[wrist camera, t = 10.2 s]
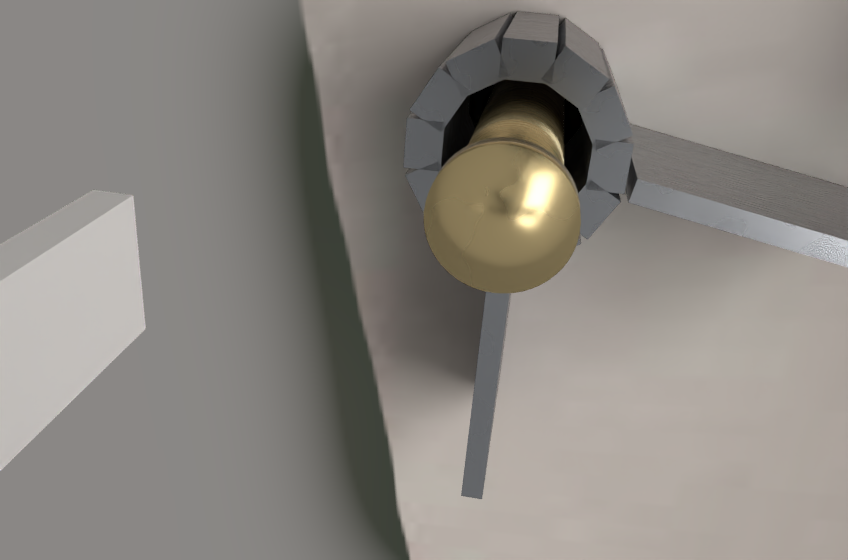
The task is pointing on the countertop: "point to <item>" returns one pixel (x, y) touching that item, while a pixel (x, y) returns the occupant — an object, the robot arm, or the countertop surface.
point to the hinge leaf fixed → (583, 155)
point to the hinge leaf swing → (739, 195)
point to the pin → (507, 195)
